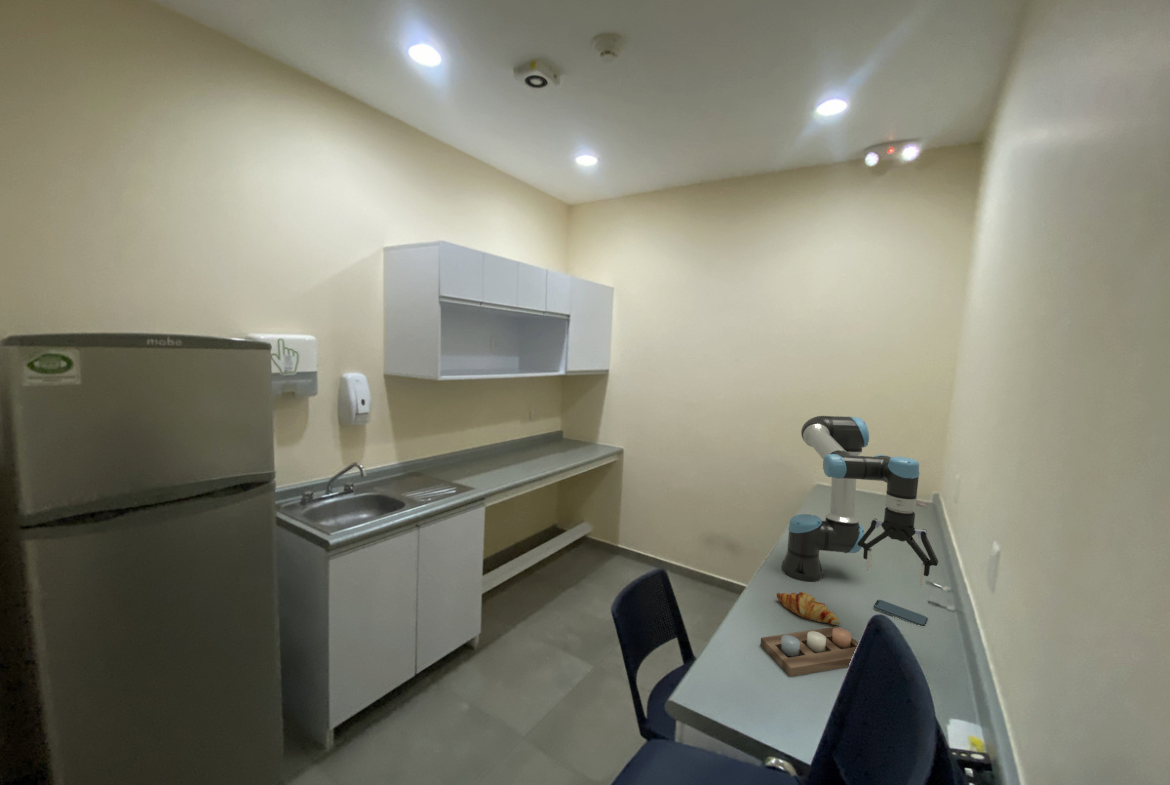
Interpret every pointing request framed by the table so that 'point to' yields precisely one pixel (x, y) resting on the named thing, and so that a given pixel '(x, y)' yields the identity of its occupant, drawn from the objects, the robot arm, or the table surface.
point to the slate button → (790, 645)
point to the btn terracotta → (841, 638)
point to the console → (809, 653)
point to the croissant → (807, 607)
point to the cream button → (816, 641)
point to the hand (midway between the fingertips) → (894, 577)
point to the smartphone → (900, 612)
